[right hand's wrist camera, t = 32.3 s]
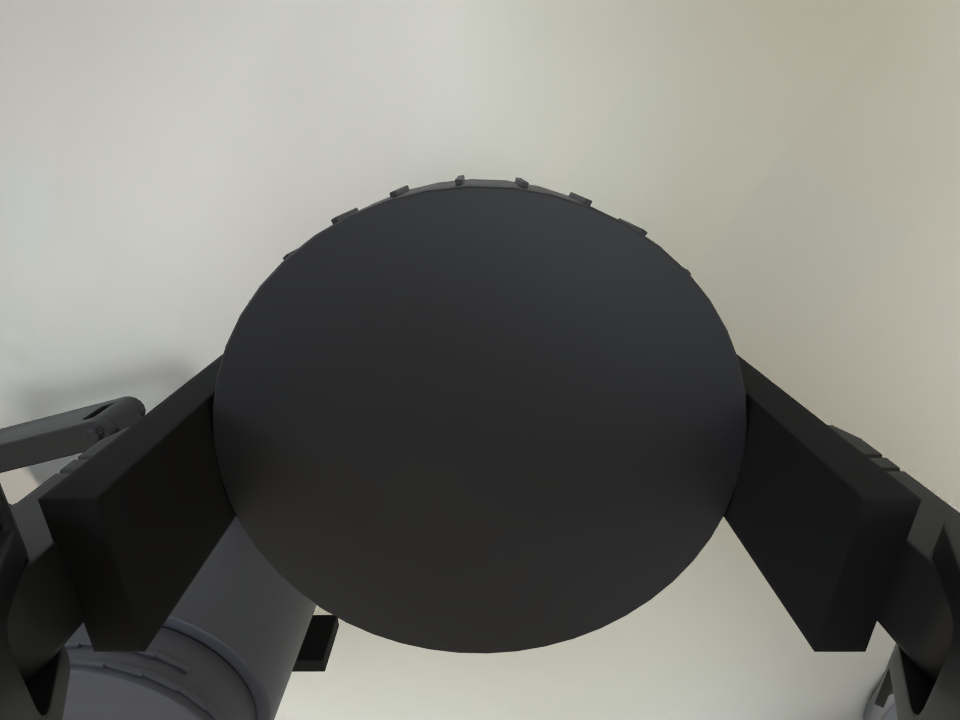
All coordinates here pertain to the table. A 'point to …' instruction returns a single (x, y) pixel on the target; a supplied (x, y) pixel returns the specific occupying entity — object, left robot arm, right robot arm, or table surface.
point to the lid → (479, 417)
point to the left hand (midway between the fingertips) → (319, 564)
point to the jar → (202, 648)
